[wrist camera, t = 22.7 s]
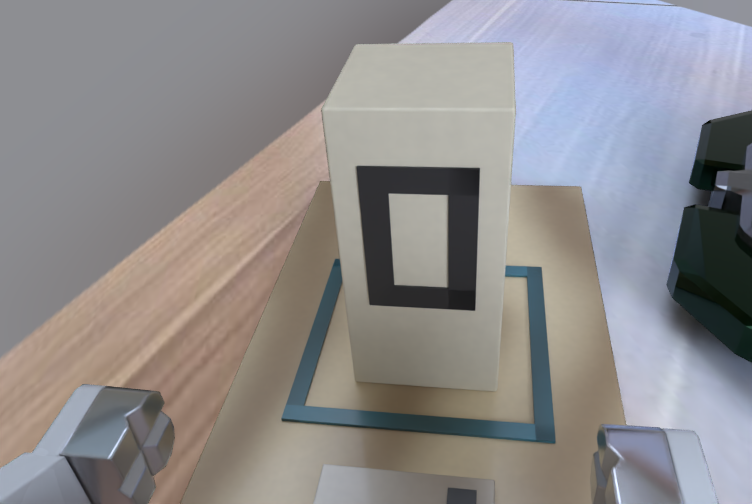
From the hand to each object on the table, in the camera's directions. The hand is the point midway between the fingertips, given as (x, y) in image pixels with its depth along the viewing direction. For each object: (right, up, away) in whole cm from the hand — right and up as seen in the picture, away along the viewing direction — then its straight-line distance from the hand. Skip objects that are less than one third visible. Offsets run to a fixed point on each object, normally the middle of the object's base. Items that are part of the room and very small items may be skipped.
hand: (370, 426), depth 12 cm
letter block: (+2, 0, +12) cm, 12 cm away
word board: (+2, -1, +12) cm, 12 cm away
